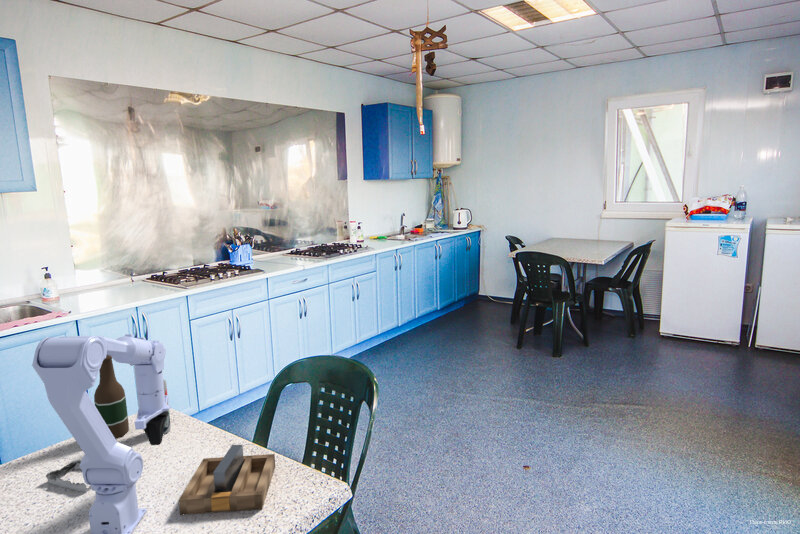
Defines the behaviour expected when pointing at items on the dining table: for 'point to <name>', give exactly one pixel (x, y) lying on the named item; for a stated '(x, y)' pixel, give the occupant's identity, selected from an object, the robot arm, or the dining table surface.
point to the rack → (243, 495)
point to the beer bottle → (111, 400)
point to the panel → (228, 469)
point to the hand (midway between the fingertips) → (156, 443)
